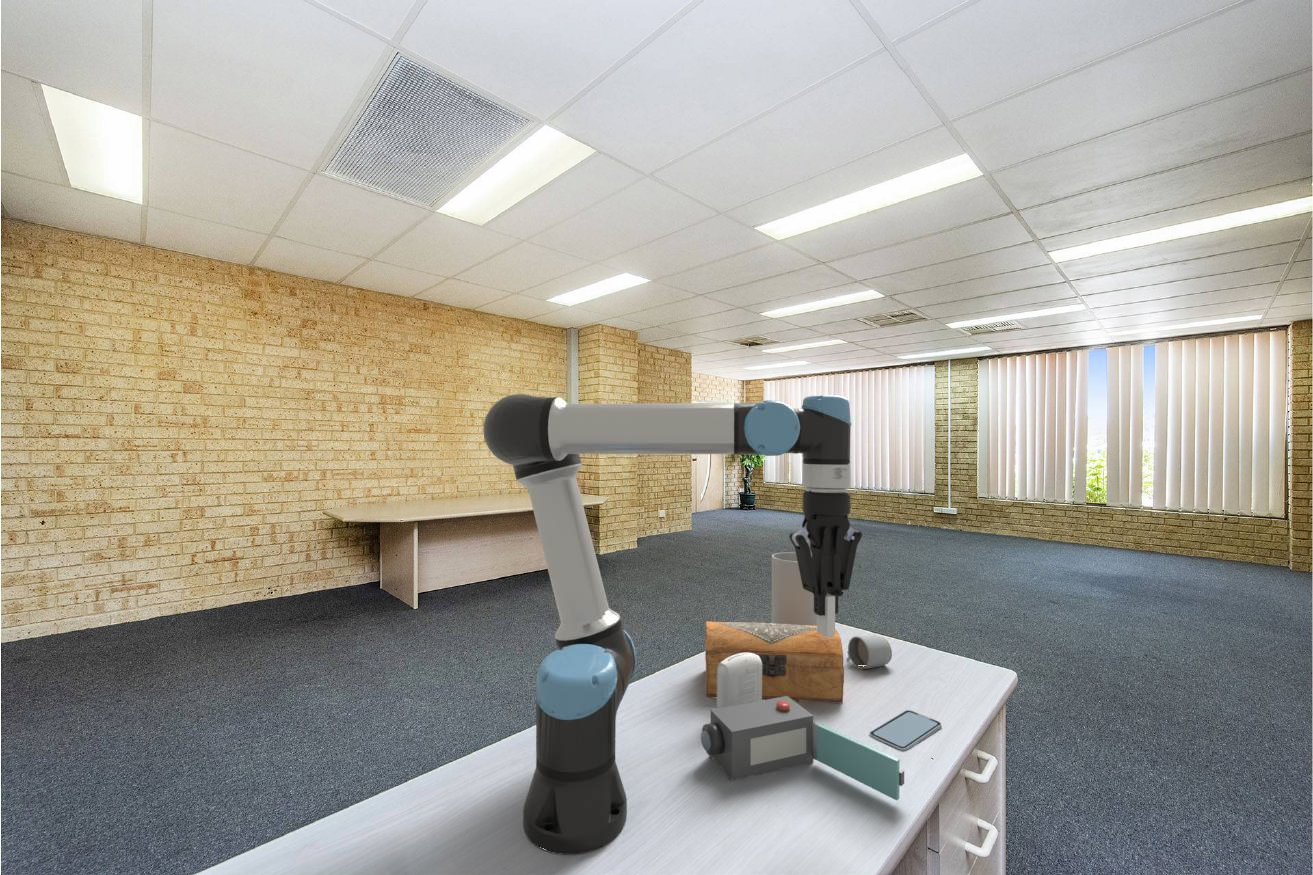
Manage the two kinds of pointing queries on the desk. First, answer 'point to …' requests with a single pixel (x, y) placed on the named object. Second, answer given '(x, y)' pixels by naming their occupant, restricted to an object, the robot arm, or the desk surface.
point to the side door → (857, 760)
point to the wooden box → (780, 658)
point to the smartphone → (905, 730)
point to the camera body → (759, 737)
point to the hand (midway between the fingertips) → (825, 633)
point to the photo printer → (739, 680)
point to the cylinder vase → (790, 593)
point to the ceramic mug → (869, 651)
